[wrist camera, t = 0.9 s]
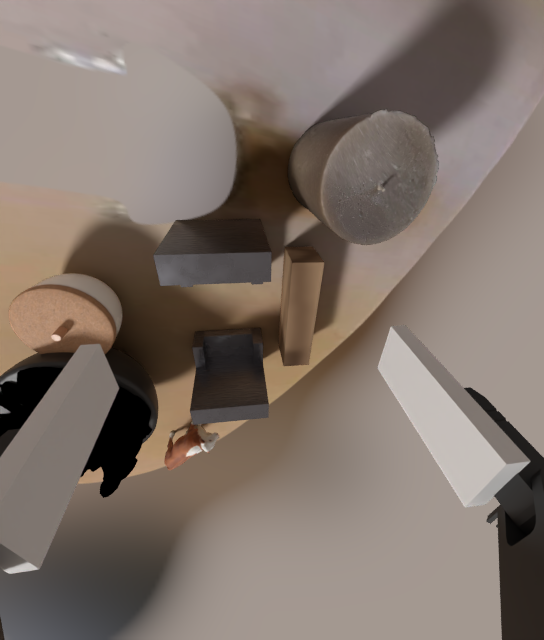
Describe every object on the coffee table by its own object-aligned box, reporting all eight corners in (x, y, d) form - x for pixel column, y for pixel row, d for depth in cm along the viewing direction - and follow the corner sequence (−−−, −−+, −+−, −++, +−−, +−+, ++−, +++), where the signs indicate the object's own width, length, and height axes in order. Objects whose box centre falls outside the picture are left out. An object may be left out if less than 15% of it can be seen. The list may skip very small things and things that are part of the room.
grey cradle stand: (259, 219, 35) (271, 252, 25) (260, 360, 49) (268, 417, 39) (175, 220, 34) (153, 255, 24) (200, 364, 47) (193, 424, 38)
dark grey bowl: (3, 354, 41) (-132, 485, 26) (102, 292, 38) (14, 400, 22) (109, 419, 52) (58, 537, 37) (193, 375, 49) (176, 486, 33)
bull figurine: (223, 411, 55) (222, 449, 49) (178, 441, 59) (172, 480, 52) (207, 402, 53) (204, 440, 46) (162, 433, 57) (153, 473, 50)
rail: (312, 246, 38) (324, 262, 33) (300, 340, 48) (308, 364, 43) (284, 246, 38) (292, 262, 33) (278, 342, 47) (283, 366, 42)
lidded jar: (131, 268, 36) (105, 303, 29) (134, 331, 42) (112, 375, 34) (38, 253, 34) (-18, 288, 26) (54, 323, 39) (11, 368, 32)
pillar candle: (300, 222, 36) (338, 268, 24) (276, 139, 30) (310, 142, 18) (370, 194, 35) (448, 226, 23) (359, 103, 29) (455, 80, 17)
